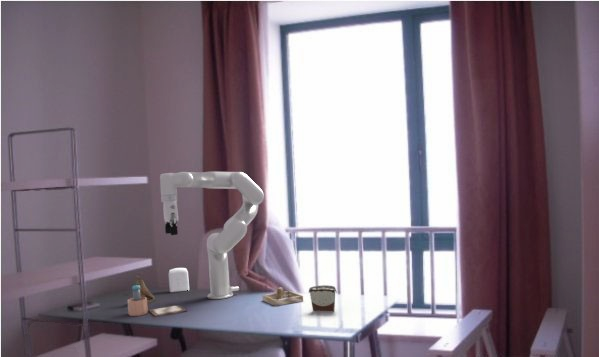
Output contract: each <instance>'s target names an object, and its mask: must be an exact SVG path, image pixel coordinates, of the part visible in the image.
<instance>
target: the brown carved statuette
mask: <svg viewBox="0 0 599 357" xmlns="http://www.w3.org/2000/svg"><path fill="white" fill-rule="evenodd" d="M136 278H137V279H136V285H140V295H141V297H146V298H147V304H148V303H151V302H155V301H156V297H155V296H154V295H153V294H152V293H151V291H150V290H149V289H148V287H147V286H146V284H145V282H144V280H143V279H142V278H141V275H140V273H137V274H136Z"/></svg>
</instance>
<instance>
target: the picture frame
mask: <svg viewBox="0 0 599 357" xmlns="http://www.w3.org/2000/svg"><path fill="white" fill-rule="evenodd" d="M148 312H149V313H150V314H151V315H152V316H153V317H155V318H157V317H162V316H168V315H169V316H170V315H175V314H180V313H186V312H187V310H186V309H185V308H184V307H183V306H181V305H180V304H177V305H176V304H175V305H171V306H163V307H159V308H152V309H148Z"/></svg>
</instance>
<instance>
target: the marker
mask: <svg viewBox="0 0 599 357" xmlns="http://www.w3.org/2000/svg"><path fill="white" fill-rule="evenodd" d="M131 287H132V288H131V289H132V298H133V301H139V300H141V295H140V285H137V284H136V285H132V286H131Z"/></svg>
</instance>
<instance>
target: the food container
mask: <svg viewBox="0 0 599 357" xmlns="http://www.w3.org/2000/svg"><path fill="white" fill-rule="evenodd" d="M308 293H309V296H310V302H311V308H312V312H321V313H322V312H324V313H325V312H326V313H330V312H331V313H335V310H336V308H335V307H336V294H337V288H336V286H334V285H328V284H327V285H325V284H323V285H315V286H310V287H309V289H308Z"/></svg>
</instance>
